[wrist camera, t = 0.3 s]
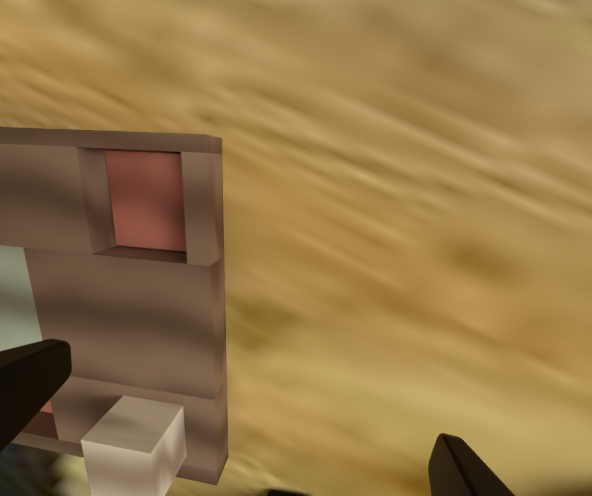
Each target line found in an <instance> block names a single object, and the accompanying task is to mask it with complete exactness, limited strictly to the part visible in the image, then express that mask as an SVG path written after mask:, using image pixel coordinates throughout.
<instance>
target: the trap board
mask: <svg viewBox="0 0 592 496" xmlns="http://www.w3.org/2000/svg"><path fill="white" fill-rule="evenodd" d="M107 149H114V150H137V151H159V152H181V154H170V153H148V152H127V151H107ZM51 338H54V339H59V340H63V341H67V342H68V343H69V344H70V346H71V358H72V372H71V375H70V377H69V378H68V380H67V381H66V382H65V383H64V384H63V385H62V386H61V388H60V389H59V390H58V391H57V392H56V393H55V394H54V395H53V397H52V398H51V399H50V400H49V401H48V402H47V403H46V404H45V406H44V407H43V408H42V409H41V410H40V411H39V412H38V413H37V415H36V416H35V417H34V418H33V419H32V420H31V421H30V422H29V424H28V425H27V426H26V427H25V428H24V429H23V430H22V431H21V432H20V433H19V434H18V436H17V437H16V438H15V439H14V440H13V441H12V442H11V443H16V444H21V445H26V446H31V447H35V448H40V449H45V450H50V451H55V452H59V453H64V454H69V455H74V456H78V457H83V458H84V455H83V449H82V444H81V439H82V438H83V437H84V436H85V435H86V434H87V433H88V432H89V431H90V430H91V429H92V428H93V427H94V426H95V425H96V423H97V422H98V421H99V420H100V419H101V418H102V417H103V416H104V415H105V414H106V413H107V412H108V411H109V410H110V409H111V408H112V407H113V406H114V405H115V404H116V403H117V402H118V401H119V400H120V399H121V398H122V397H123V396H130V397H136V398H142V399H148V400H153V401H159V402H165V403H171V404H177V405H183V412H184V426H185V441H186V455H187V456H186V458H185V460H184V462H183V464H182V465H181V467H180V469H179V471H178V473H177V475H176V476H175V477H179V478H184V479H189V480H194V481H198V482H203V483H208V484H213V485H217V483H218V481H219V478H220V476H221V474H222V471H223V469H224V466H225V464H226V461H227V459H228V425H227V376H226V326H225V277H224V228H223V179H222V138H218V137H213V136H209V135H205V134H177V133H149V132H121V131H93V130H65V129H37V128H9V127H0V351H3V350H7V349H11V348H15V347H19V346H23V345H27V344H31V343H34V342H38V341H42V340H46V339H51Z"/></svg>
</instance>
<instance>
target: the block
mask: <svg viewBox="0 0 592 496" xmlns="http://www.w3.org/2000/svg"><path fill="white" fill-rule="evenodd" d="M81 444H82V449H83V455H84V460H85V465H86V470H87V476H88V481H89V486H90V491H91V496H165V495H166V493H167V491H168V489H169V487H170V486H171V484H172V482H173V480H174V478H175V476H176V475H177V473H178V471H179V469H180V467H181V465H182V464H183V462H184V460H185V458H186V456H187V455H186V441H185V426H184V412H183V405H177V404H171V403H165V402H159V401H153V400H148V399H142V398H136V397H130V396H123V397H122V398H121V399H120V400H119V401H118V402H117V403H116V404H115V405H114V406H113V407H112V408H111V409H110V410H109V411H108V412H107V413H106V414H105V415H104V416H103V417H102V418H101V419H100V420H99V421H98V422H97V423H96V425H95V426H94V427H93V428H92V429H91V430H90V431H89V432H88V433H87V434H86V435H85V436H84V437H83V438H82V439H81Z"/></svg>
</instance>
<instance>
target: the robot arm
mask: <svg viewBox="0 0 592 496" xmlns="http://www.w3.org/2000/svg"><path fill="white" fill-rule="evenodd" d="M71 372H72V358H71V346H70V344H69V343H68V342H67V341H63V340H59V339H54V338H51V339H46V340H42V341H38V342H34V343H31V344H27V345H23V346H19V347H15V348H11V349H7V350H3V351H0V453H1V452H2V451H3V450H4V449H5V448H6V447H7V446H8V445H9V444H10V443H11V442H12V441H13V440H14V439H15V438H16V437H17V436H18V434H19V433H20V432H21V431H22V430H23V429H24V428H25V427H26V426H27V425H28V424H29V422H30V421H31V420H32V419H33V418H34V417H35V416H36V415H37V413H38V412H39V411H40V410H41V409H42V408H43V407H44V406H45V404H46V403H47V402H48V401H49V400H50V399H51V398H52V397H53V395H54V394H55V393H56V392H57V391H58V390H59V389H60V388H61V386H62V385H63V384H64V383H65V382H66V381H67V380H68V378H69V377H70V375H71ZM428 472H429V480H430V487H431V495H432V496H515V495H514V494H513V493H512V492H511V491H510V490H509V489H508V488H507V486H506V485H505V484H504V483H503V482H502V481H501V480H500V479H499V478H498V477H497V476H496V475H495V474H494V473H493V471H492V470H491V469H490V468H489V467H488V466H487V465H486V464H485V463H484V462H483V461H482V460H481V459H480V458H479V456H478V455H477V454H476V453H475V452H474V451H473V450H472V449H471V448H470V447H469V446H468V445H467V444H466V442H465V441H464V440H462V439H461V438H460V437H457V436H453V435H449V434H445V433H441V434H439V436H438V437H437V440H436V443H435V446H434V448H433V451H432V454H431V457H430V460H429V466H428ZM267 496H293V495H288V494H283V493H278V492H273V491H270V492H268V494H267Z"/></svg>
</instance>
